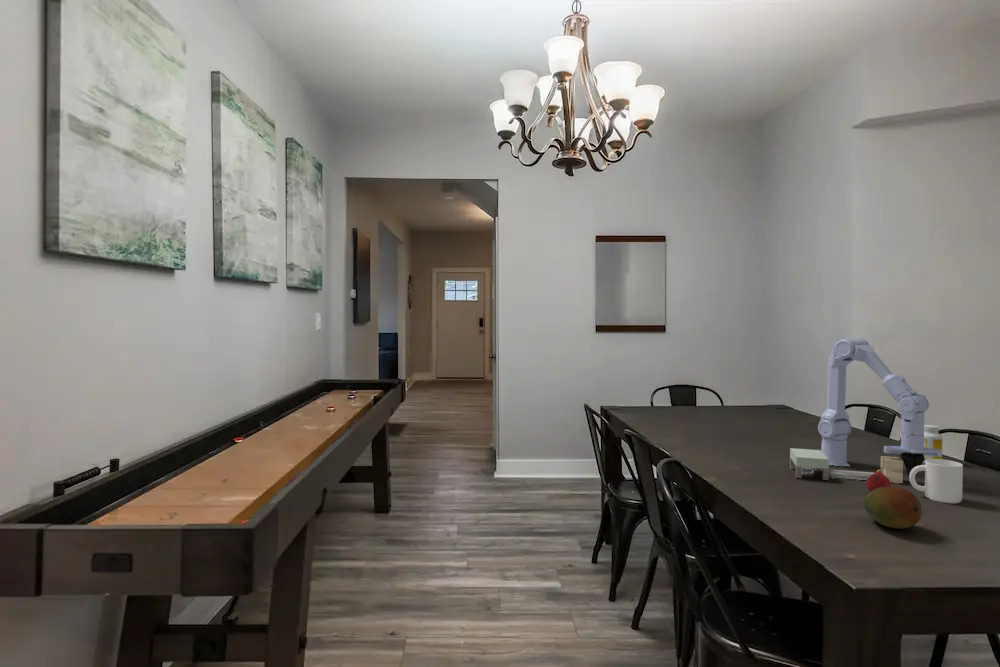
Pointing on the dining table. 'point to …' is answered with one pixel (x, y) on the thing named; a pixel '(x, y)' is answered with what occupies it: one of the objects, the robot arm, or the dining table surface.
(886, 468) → the beige piece
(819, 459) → the green top stand
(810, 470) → the token
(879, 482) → the pomegranate
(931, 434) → the supplement bottle
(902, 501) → the fruit
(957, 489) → the mug
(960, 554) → the dining table surface
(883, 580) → the dining table surface
